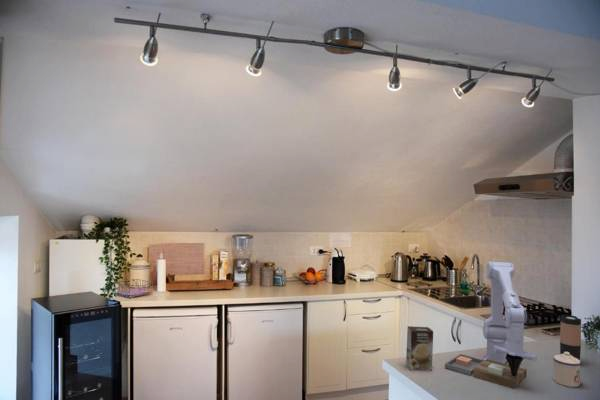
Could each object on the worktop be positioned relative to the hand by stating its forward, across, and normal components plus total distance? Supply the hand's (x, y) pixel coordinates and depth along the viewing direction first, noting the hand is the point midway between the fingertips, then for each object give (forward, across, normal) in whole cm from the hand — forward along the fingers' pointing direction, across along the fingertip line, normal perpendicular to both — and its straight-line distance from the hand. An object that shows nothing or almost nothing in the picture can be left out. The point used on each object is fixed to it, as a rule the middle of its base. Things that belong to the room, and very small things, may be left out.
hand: (514, 375), depth 157 cm
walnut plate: (+4, -6, +4) cm, 8 cm away
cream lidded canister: (+4, +14, +19) cm, 24 cm away
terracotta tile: (+1, -21, +6) cm, 22 cm away
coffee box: (+4, -33, -11) cm, 35 cm away
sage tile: (+1, -6, 0) cm, 6 cm away
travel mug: (+4, +11, +43) cm, 44 cm away
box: (+4, -20, +4) cm, 21 cm away
